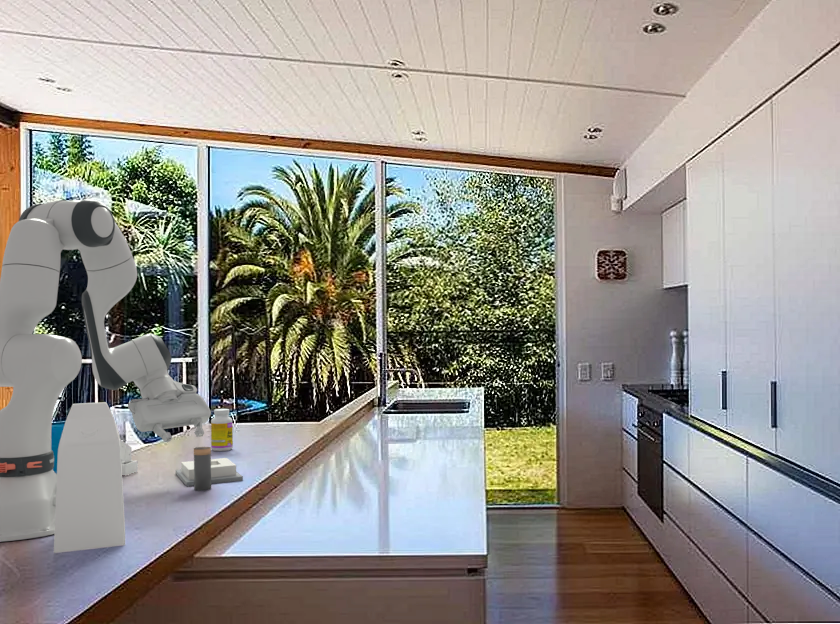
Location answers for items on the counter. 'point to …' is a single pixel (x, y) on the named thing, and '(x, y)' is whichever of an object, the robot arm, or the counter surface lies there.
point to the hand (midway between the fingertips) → (185, 437)
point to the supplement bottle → (221, 431)
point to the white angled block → (127, 459)
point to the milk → (89, 481)
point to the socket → (219, 472)
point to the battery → (202, 468)
